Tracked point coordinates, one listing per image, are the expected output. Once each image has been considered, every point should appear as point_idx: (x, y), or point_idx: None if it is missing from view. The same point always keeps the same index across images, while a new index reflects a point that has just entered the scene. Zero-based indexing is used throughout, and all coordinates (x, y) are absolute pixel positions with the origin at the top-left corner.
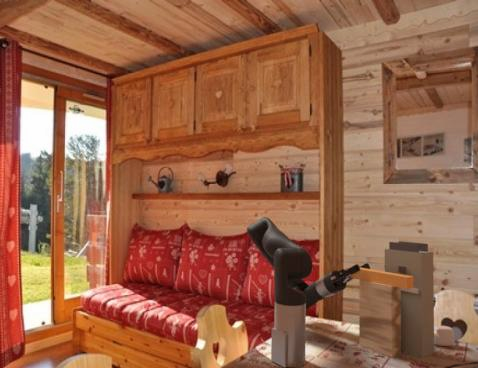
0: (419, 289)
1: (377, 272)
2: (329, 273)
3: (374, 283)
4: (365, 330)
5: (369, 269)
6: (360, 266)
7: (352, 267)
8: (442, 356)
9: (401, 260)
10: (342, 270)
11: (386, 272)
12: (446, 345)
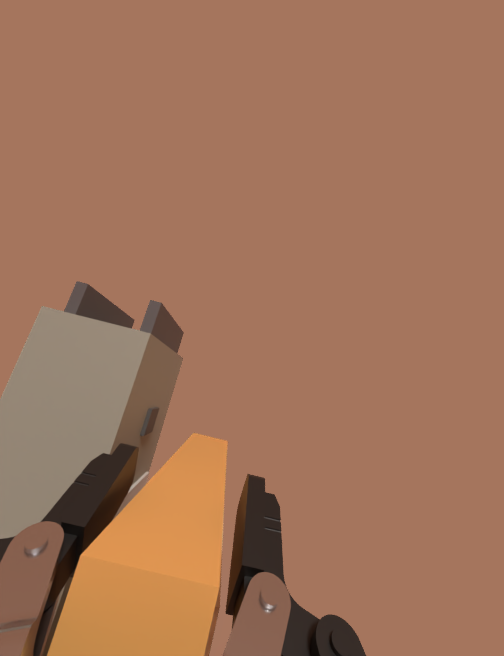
0: (147, 470)
1: (225, 468)
2: None
3: (222, 536)
4: None
5: (171, 481)
6: (96, 508)
7: (279, 523)
8: None
9: (159, 384)
10: (352, 643)
11: (193, 453)
12: None
